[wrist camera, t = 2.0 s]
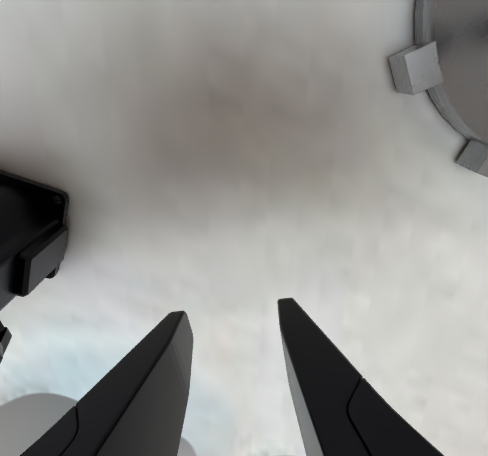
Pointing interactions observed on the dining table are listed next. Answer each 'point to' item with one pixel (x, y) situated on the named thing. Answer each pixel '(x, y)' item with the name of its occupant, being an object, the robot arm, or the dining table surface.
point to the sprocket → (451, 69)
